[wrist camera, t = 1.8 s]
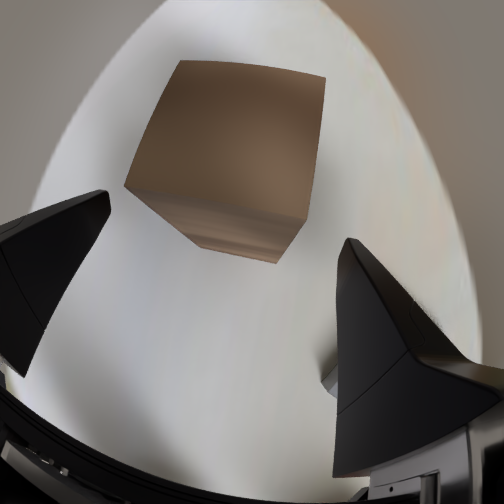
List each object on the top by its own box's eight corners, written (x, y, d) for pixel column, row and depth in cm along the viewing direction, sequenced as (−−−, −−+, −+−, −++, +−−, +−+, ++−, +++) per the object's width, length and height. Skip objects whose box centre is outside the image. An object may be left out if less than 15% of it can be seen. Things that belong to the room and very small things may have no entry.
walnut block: (276, 263, 19) (306, 219, 7) (200, 247, 19) (123, 186, 8) (290, 191, 20) (325, 77, 8) (218, 177, 20) (180, 60, 8)
